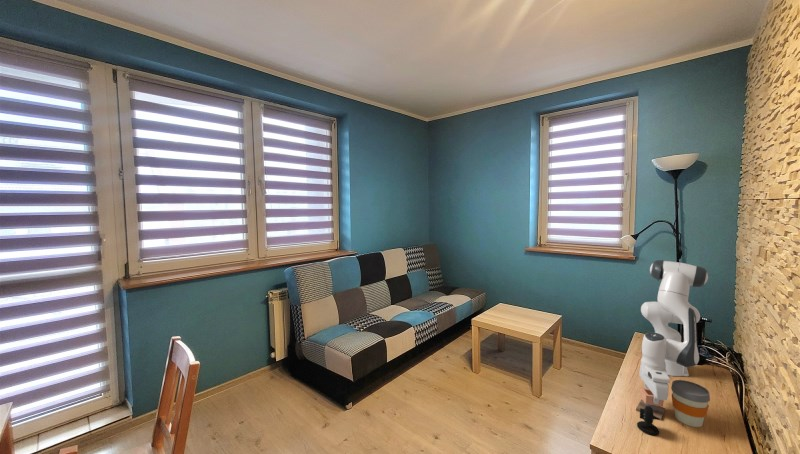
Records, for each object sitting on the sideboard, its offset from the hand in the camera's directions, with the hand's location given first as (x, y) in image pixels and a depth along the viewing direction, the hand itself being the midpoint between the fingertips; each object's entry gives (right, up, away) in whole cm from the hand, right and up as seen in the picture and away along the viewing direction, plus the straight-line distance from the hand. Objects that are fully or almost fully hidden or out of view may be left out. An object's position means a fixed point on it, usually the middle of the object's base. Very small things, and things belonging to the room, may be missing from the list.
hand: (651, 397), depth 145 cm
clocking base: (0, -6, +1) cm, 6 cm away
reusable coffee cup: (+11, -7, -6) cm, 15 cm away
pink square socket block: (0, -2, 0) cm, 2 cm away
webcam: (-11, -8, -11) cm, 17 cm away
